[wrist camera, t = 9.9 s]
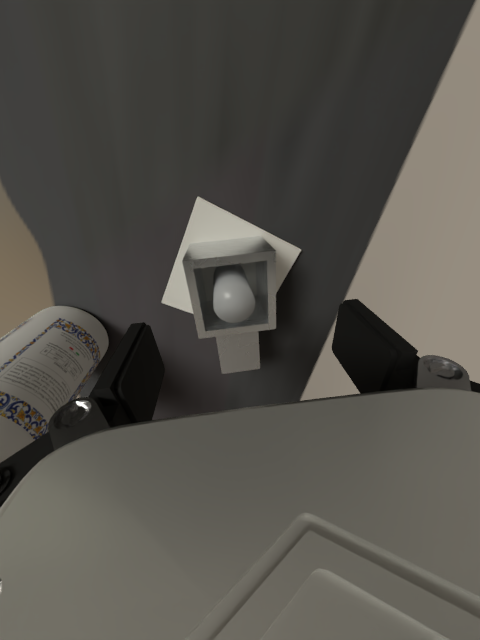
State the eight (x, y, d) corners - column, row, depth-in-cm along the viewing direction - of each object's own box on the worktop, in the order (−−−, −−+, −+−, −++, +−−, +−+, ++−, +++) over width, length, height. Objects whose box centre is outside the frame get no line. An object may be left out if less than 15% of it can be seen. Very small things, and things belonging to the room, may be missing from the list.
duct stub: (197, 196, 18) (190, 199, 13) (300, 248, 21) (330, 269, 16) (162, 300, 22) (145, 337, 17) (251, 332, 25) (262, 372, 20)
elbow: (189, 243, 19) (182, 260, 15) (260, 235, 20) (275, 250, 15) (210, 351, 25) (209, 388, 21) (264, 344, 26) (276, 379, 21)
